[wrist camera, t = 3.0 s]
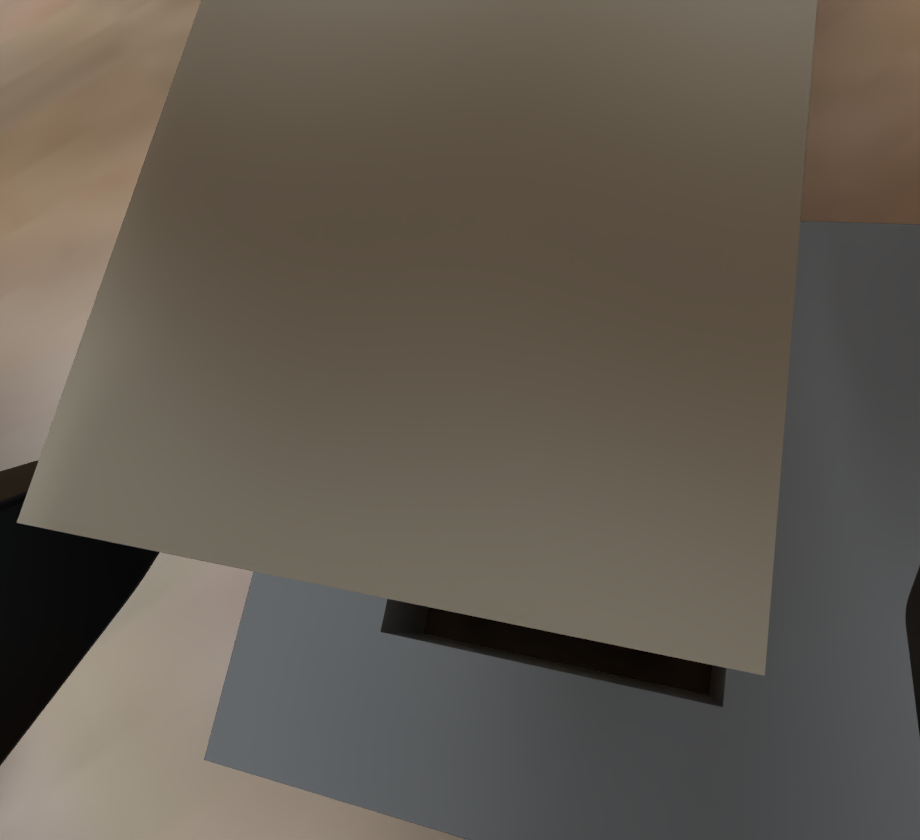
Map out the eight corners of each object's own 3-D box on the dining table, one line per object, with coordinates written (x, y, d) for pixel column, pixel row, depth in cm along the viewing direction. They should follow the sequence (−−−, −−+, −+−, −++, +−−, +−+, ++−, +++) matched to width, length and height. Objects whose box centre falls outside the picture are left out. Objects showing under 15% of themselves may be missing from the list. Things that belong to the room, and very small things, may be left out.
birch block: (674, 649, 16) (765, 676, 4) (461, 606, 17) (16, 522, 5) (698, 435, 17) (823, -79, 5) (497, 412, 18) (210, -27, 6)
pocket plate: (868, 908, 13) (926, 977, 11) (275, 740, 17) (204, 759, 14) (892, 294, 17) (941, 224, 14) (389, 267, 20) (349, 208, 18)
